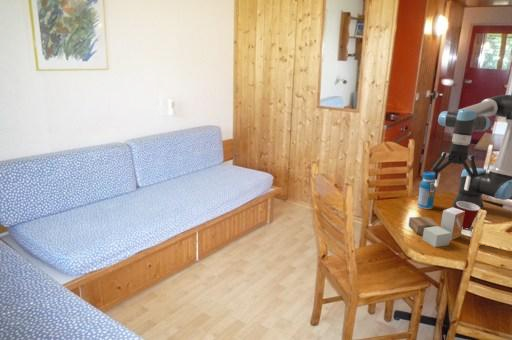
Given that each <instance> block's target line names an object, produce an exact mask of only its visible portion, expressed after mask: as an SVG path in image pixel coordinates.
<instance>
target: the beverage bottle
mask: <svg viewBox="0 0 512 340" xmlns="http://www.w3.org/2000/svg"><path fill="white" fill-rule="evenodd" d="M434 174H435V172H433V171H424V172H422V180H421V181H420V183H419V185H420V186H419V188H418V190H419V191H418V199H417V205H416V206H417V207H419V208H420V209H424V210H431V209H433V208H434V200H435V193H436V188H437V187H436V186H434V184H435V179H434Z"/></svg>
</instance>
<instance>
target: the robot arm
mask: <svg viewBox="0 0 512 340" xmlns="http://www.w3.org/2000/svg"><path fill="white" fill-rule="evenodd" d="M492 116H494V117H502V118H505V122H506V123H507V126H506V128H505V132H504V135H503V138H502V140H501V145H500V148H499V151H498V154H497V158H496V160H495V164H494V166H493V168H491V169H490V170H489V172H488V173H487V169H485V168H482V167H481V168H480V167H477V165H476V162H475V156H474V155H472V154H470V155H468V153H469V151H470V144H471V141H472V135H473V132H485V131H487V130H488V129H489V128H490V126H491V119H490V117H492ZM437 123H438V125H440V126H441V127H446V128H453V129H454V131H453V133H452V138H451V143H450V147H449V148H450V149H449V152H445V151H442V152H441V155H440V157H439V158H438V159H437V160H436V161H435V163H434V164H433V166H432V167H431V168H430V169H431V172H433V173H435V174H434V179H435V180H434V181H435V184H434V186H436V187H435V188H438V186H439V183H440V182H439V181H440V178H441V172H442V170H444V169H445V168H447V167H448V166H449V165H451V164H458V165H462V167H463V170H462V171H461V175H460V180H459V188H458V193H457V194H456V197H455V199H454V200H453V203H452V207H453V208H456V209H457V204H456V202H459V201H465V202H470V203H473V204H475V205H478V206H479V207H480V209H483V210H484V203H483V201H484V200H483V197H482V196H483V195H484V196H487V197H490V198H495V199H496V200H497V199H498V200H503V201H506V200H508V199H510V198H511V197H512V94H500V95H496V96H492V97H488V98H485V99H483V100H482V101H481V102H479V103H476V104H472V105H469V106H466V107H463V108H459V109H457V110H453V111H449V110H444V111H441V112H440V113H439V115H438V119H437ZM447 157H448V158H447ZM446 158H447V159H446ZM445 159H446V160H445ZM444 160H445V161H444ZM466 160H468V161H469V164H470V165H469V166H470V167H469V166H468V163H467V162H466ZM443 161H444V162H443Z"/></svg>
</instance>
